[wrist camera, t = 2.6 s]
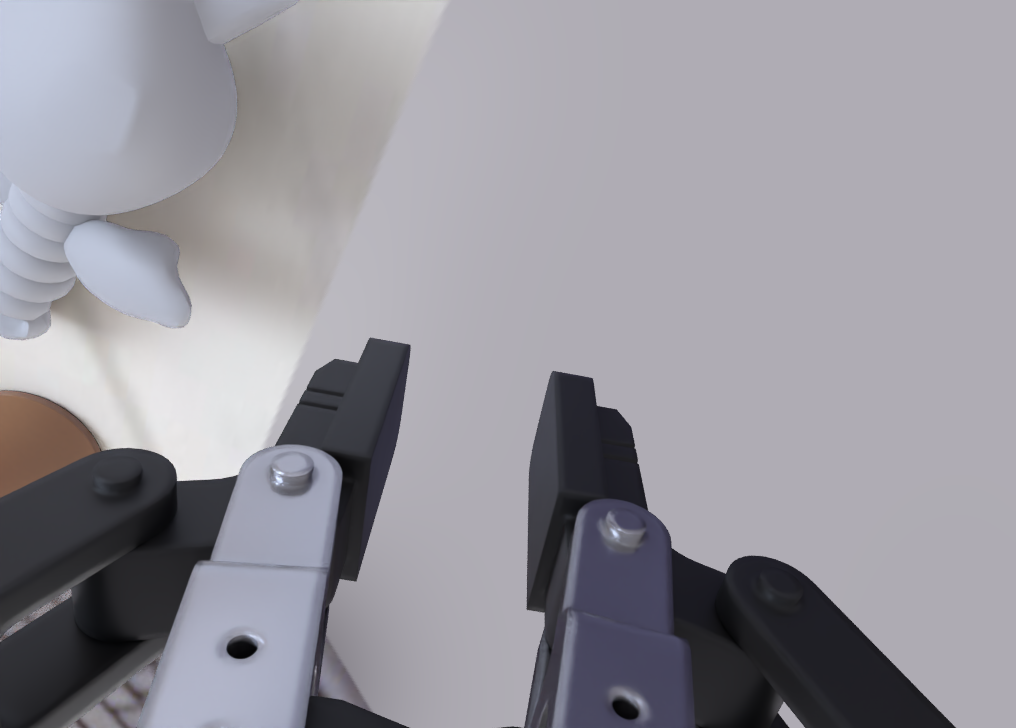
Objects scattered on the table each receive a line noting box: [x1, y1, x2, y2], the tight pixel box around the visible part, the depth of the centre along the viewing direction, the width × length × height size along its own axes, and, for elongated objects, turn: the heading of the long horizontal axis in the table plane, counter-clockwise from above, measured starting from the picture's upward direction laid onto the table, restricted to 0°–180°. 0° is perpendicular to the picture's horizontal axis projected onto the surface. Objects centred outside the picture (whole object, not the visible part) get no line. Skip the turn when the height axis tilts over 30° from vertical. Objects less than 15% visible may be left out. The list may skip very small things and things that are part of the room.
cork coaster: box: [0, 391, 101, 498], centre depth 36 cm, size 7×7×1 cm
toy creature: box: [0, 0, 299, 340], centre depth 25 cm, size 13×7×20 cm
